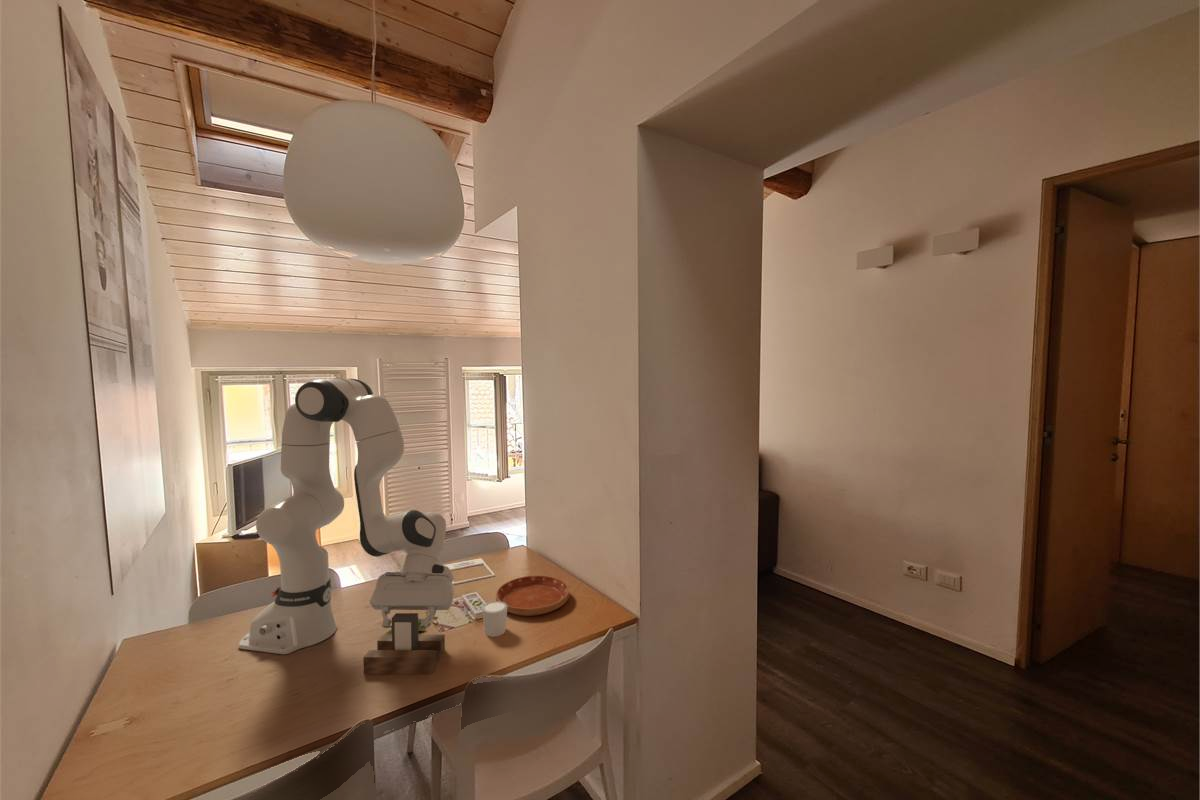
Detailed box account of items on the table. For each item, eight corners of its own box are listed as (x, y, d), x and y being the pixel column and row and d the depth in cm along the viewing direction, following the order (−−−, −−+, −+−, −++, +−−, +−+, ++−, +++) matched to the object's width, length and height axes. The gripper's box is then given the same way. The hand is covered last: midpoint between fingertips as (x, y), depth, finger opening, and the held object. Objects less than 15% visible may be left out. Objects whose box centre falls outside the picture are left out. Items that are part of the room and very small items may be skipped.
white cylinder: (501, 639, 127) (501, 613, 127) (477, 636, 128) (477, 611, 128) (511, 626, 134) (511, 602, 133) (488, 623, 135) (488, 599, 135)
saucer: (544, 627, 134) (544, 614, 134) (480, 610, 143) (480, 598, 143) (581, 593, 154) (581, 582, 154) (523, 581, 164) (523, 570, 164)
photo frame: (481, 557, 183) (494, 574, 167) (481, 560, 183) (494, 577, 168) (442, 564, 176) (452, 583, 160) (442, 567, 176) (452, 586, 160)
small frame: (392, 658, 115) (391, 618, 115) (396, 652, 118) (396, 613, 118) (414, 658, 115) (413, 618, 115) (418, 652, 118) (418, 613, 118)
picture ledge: (363, 673, 112) (363, 657, 112) (382, 649, 122) (382, 634, 122) (431, 673, 112) (430, 657, 112) (444, 649, 122) (444, 634, 122)
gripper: (376, 567, 123) (357, 623, 114) (454, 567, 123) (442, 623, 114) (384, 576, 128) (367, 631, 119) (459, 577, 128) (448, 631, 119)
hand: (404, 627), depth 116 cm, fingers open, 8 cm apart
